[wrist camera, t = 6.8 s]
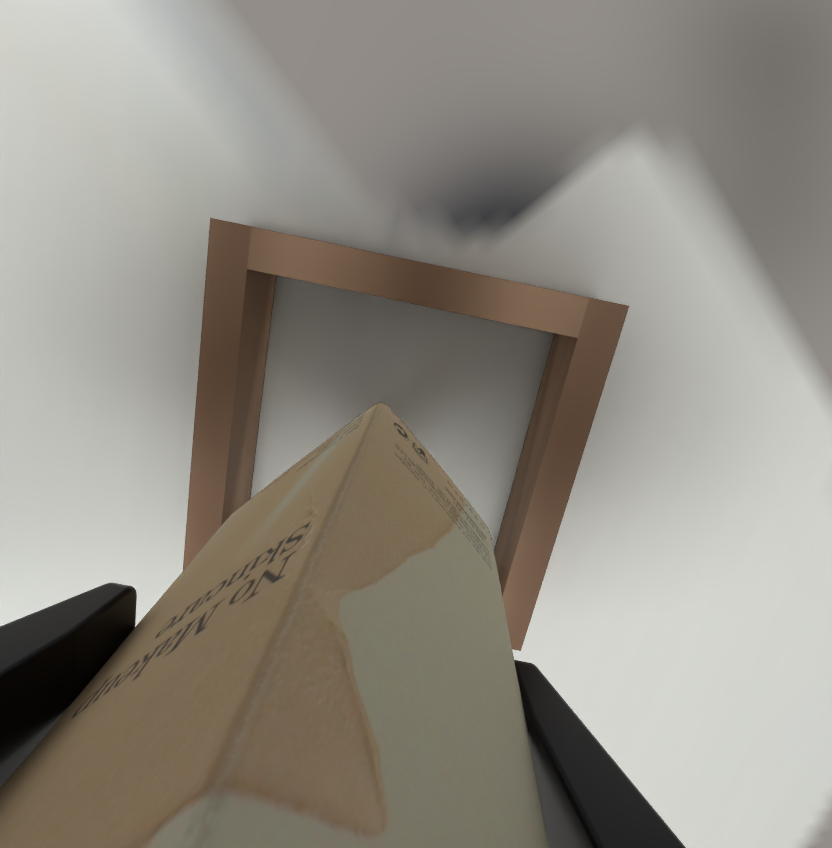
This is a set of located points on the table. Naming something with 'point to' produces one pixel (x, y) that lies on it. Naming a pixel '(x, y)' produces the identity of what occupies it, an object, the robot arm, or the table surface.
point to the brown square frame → (413, 283)
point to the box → (306, 681)
